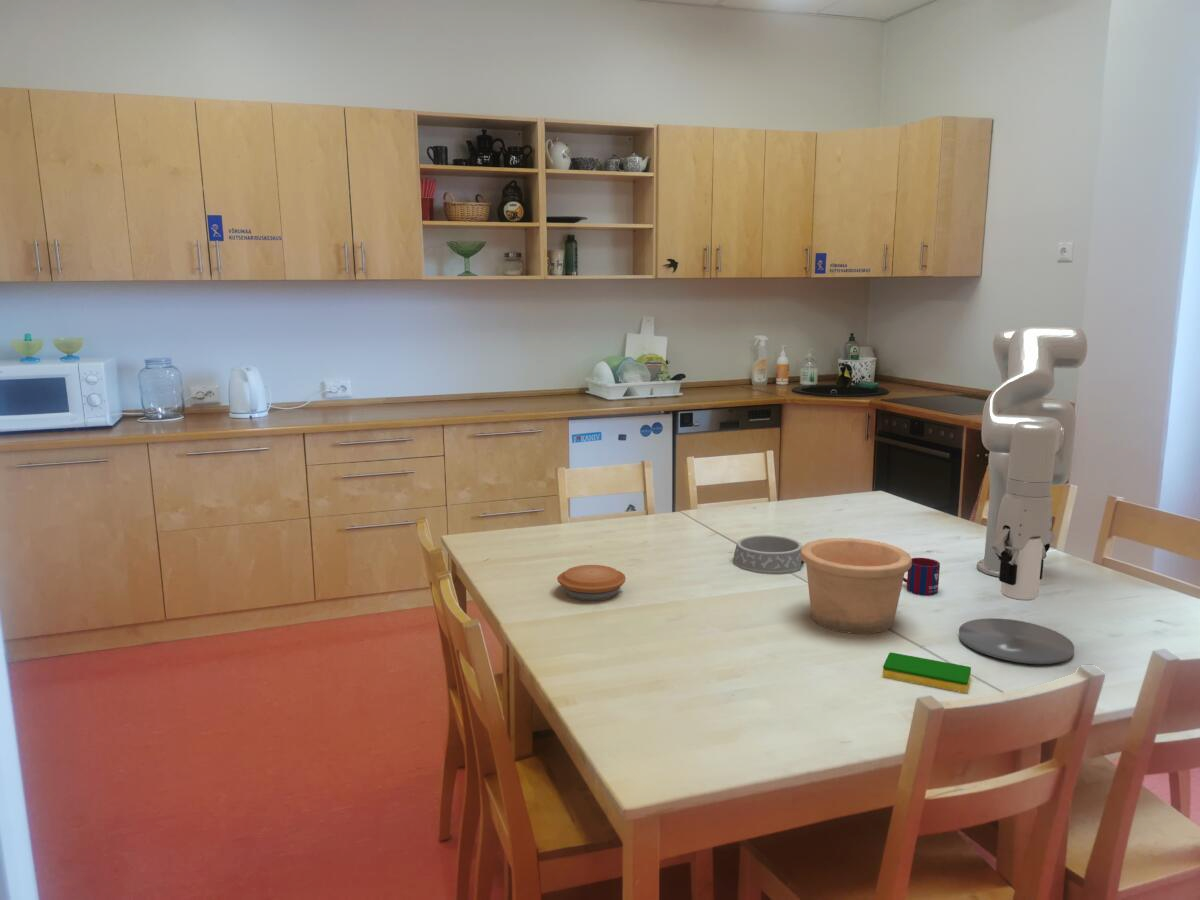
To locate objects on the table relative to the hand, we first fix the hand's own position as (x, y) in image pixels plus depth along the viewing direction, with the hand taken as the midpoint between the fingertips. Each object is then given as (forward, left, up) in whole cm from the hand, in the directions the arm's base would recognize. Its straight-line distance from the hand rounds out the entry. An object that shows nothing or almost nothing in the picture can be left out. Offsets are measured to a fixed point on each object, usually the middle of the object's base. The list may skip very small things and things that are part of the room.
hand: (1020, 579), depth 163 cm
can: (0, 0, -3) cm, 3 cm away
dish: (0, 0, -13) cm, 13 cm away
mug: (-7, -32, -13) cm, 35 cm away
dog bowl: (+12, -62, -14) cm, 65 cm away
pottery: (+19, -24, -13) cm, 33 cm away
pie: (+61, -62, -14) cm, 88 cm away
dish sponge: (+26, +3, -14) cm, 30 cm away
